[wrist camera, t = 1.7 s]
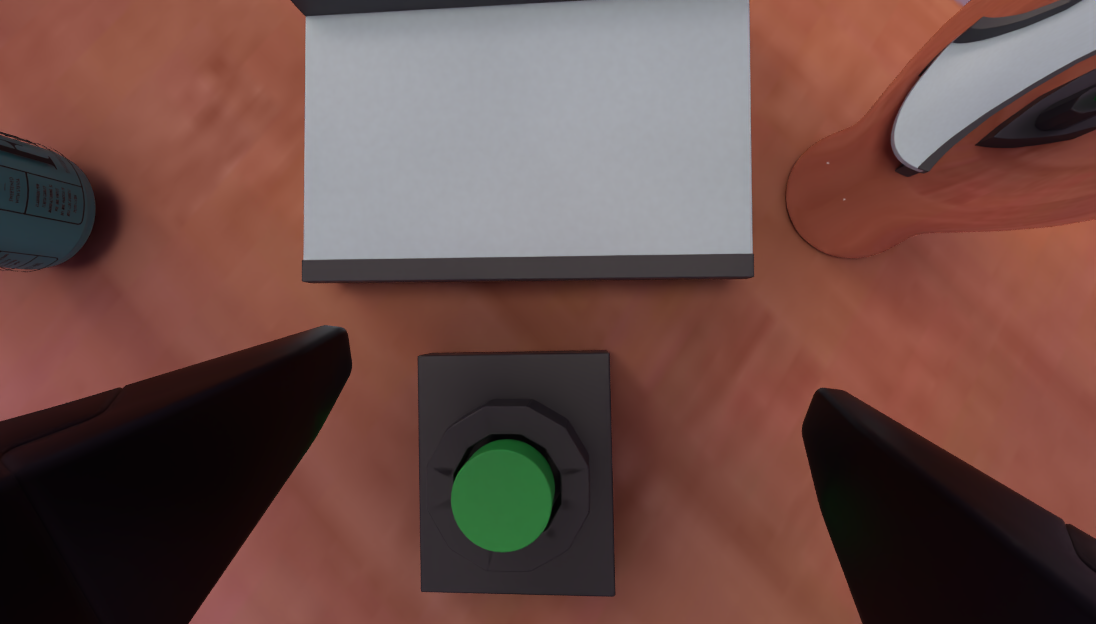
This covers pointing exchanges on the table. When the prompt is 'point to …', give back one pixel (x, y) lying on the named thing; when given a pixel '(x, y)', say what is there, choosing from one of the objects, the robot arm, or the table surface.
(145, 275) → the table surface
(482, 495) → the button
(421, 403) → the control box
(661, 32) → the shelf
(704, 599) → the table surface
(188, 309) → the table surface
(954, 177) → the beer glass
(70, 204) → the beverage bottle
